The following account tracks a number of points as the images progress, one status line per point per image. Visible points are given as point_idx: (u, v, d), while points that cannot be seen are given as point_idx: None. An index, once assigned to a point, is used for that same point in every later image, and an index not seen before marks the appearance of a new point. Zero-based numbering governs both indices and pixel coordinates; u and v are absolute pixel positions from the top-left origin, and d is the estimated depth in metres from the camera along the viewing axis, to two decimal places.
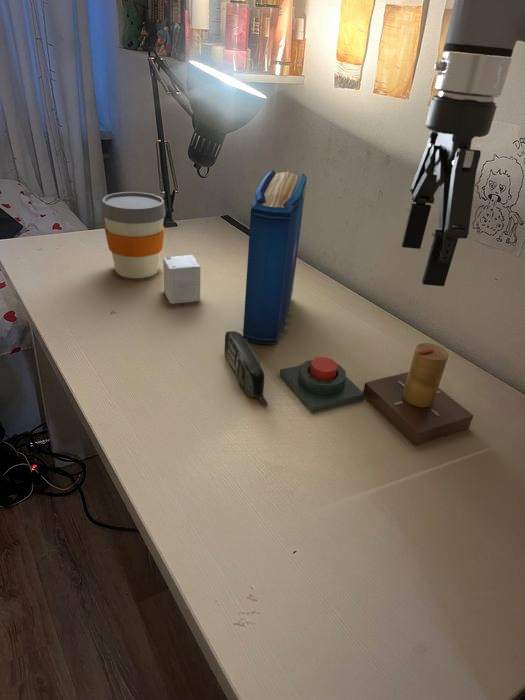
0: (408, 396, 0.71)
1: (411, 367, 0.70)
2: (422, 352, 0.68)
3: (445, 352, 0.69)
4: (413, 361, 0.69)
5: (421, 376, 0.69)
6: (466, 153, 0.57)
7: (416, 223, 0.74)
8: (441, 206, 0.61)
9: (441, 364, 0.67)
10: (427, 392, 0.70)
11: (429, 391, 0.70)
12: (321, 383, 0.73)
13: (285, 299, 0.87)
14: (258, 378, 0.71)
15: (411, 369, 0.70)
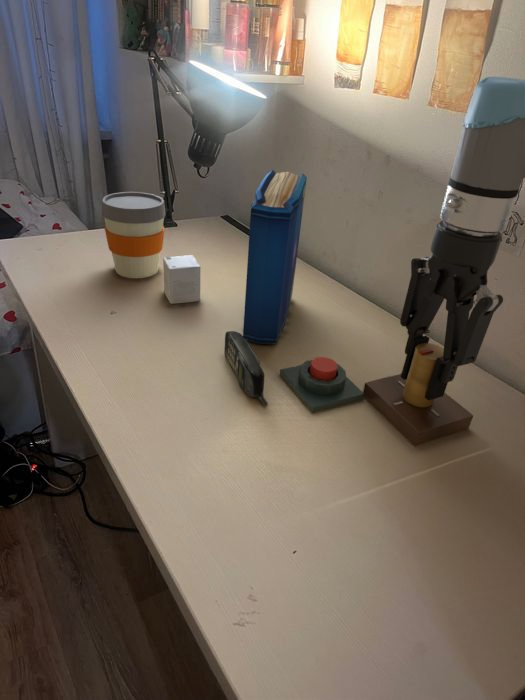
0: (408, 396, 0.71)
1: (411, 367, 0.70)
2: (422, 352, 0.68)
3: None
4: (413, 361, 0.69)
5: (421, 376, 0.69)
6: (493, 304, 0.58)
7: None
8: (449, 334, 0.64)
9: None
10: None
11: None
12: (321, 383, 0.73)
13: (285, 299, 0.87)
14: (258, 378, 0.71)
15: (411, 369, 0.70)
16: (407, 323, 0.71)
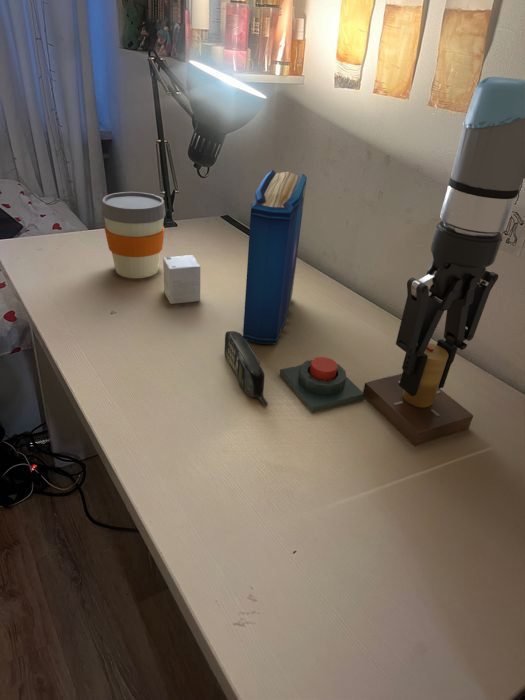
0: None
1: None
2: None
3: (435, 358, 0.67)
4: None
5: None
6: (411, 286, 0.61)
7: None
8: None
9: None
10: None
11: None
12: (321, 383, 0.73)
13: (285, 299, 0.87)
14: (258, 378, 0.71)
15: None
16: None
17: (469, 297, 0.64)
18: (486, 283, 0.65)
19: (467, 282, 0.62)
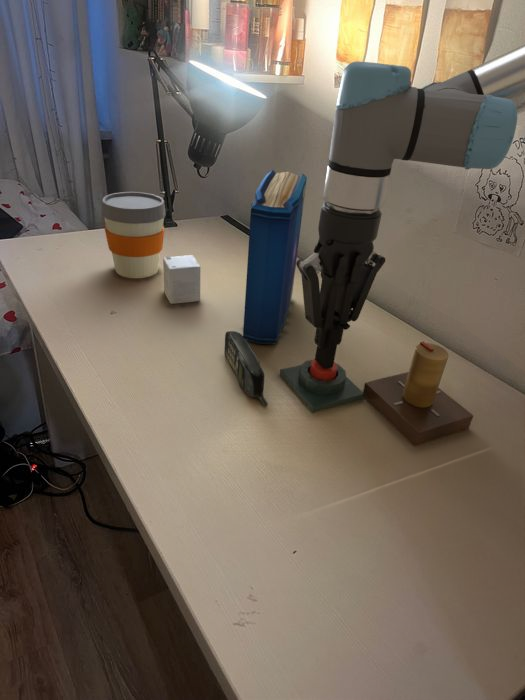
0: None
1: None
2: (422, 342, 0.70)
3: (435, 358, 0.67)
4: None
5: None
6: (299, 267, 0.64)
7: None
8: None
9: (418, 359, 0.68)
10: (407, 383, 0.71)
11: (408, 382, 0.71)
12: (321, 383, 0.73)
13: (285, 299, 0.87)
14: (258, 378, 0.71)
15: None
16: None
17: (355, 274, 0.67)
18: (373, 264, 0.68)
19: (354, 259, 0.65)
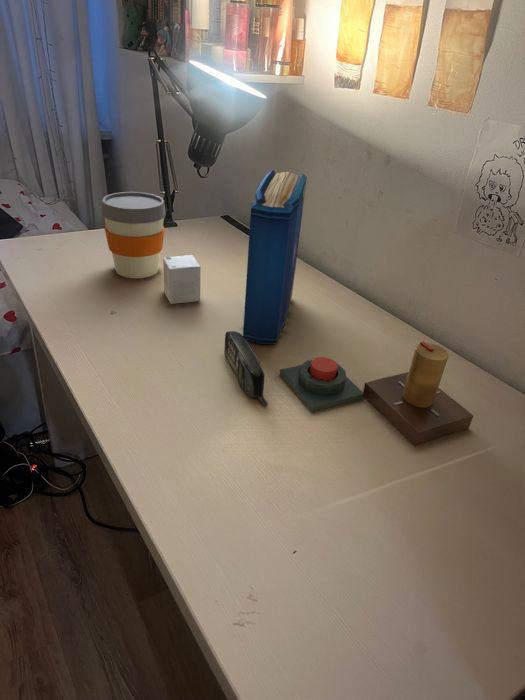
0: None
1: None
2: (422, 342, 0.70)
3: (435, 358, 0.67)
4: None
5: None
6: None
7: None
8: None
9: (418, 359, 0.68)
10: (407, 383, 0.71)
11: (408, 382, 0.71)
12: (321, 383, 0.73)
13: (285, 299, 0.87)
14: (258, 378, 0.71)
15: None
16: None
17: None
18: None
19: None
